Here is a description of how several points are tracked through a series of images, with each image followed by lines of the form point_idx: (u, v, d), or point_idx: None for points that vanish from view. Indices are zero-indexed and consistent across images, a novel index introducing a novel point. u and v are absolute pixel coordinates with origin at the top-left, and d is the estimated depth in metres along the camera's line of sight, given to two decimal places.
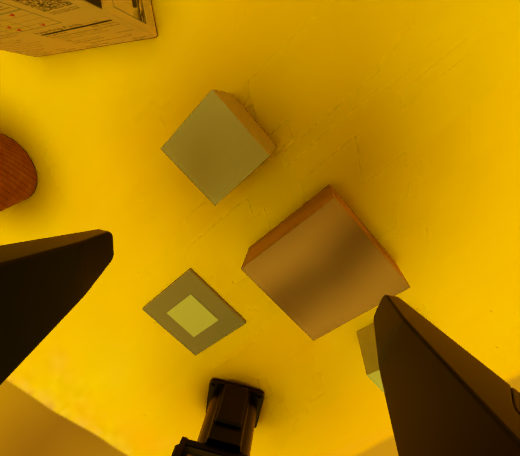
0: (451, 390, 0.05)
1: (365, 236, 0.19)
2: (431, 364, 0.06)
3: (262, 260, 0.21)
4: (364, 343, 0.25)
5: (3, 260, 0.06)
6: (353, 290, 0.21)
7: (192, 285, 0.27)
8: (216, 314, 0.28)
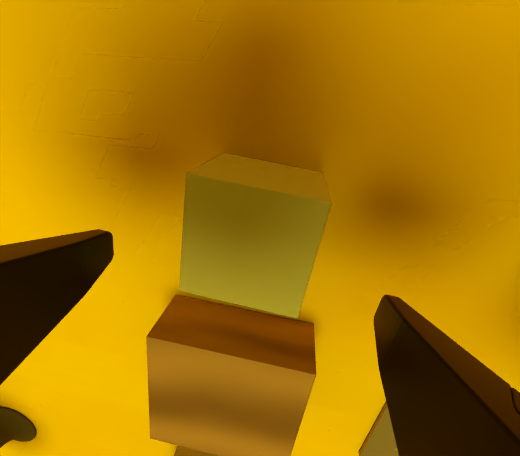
0: (451, 390, 0.05)
1: (150, 402, 0.17)
2: (431, 364, 0.06)
3: None
4: None
5: (3, 260, 0.06)
6: (206, 379, 0.15)
7: (380, 449, 0.20)
8: None
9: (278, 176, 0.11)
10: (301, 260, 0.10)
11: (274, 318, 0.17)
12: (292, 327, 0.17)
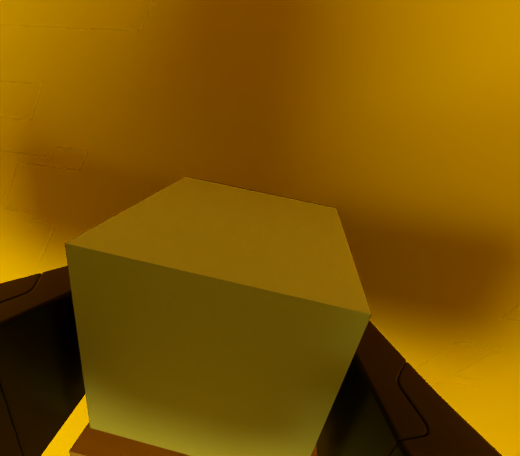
0: None
1: None
2: None
3: None
4: None
5: None
6: None
7: None
8: None
9: (264, 229, 0.06)
10: (305, 404, 0.05)
11: None
12: None
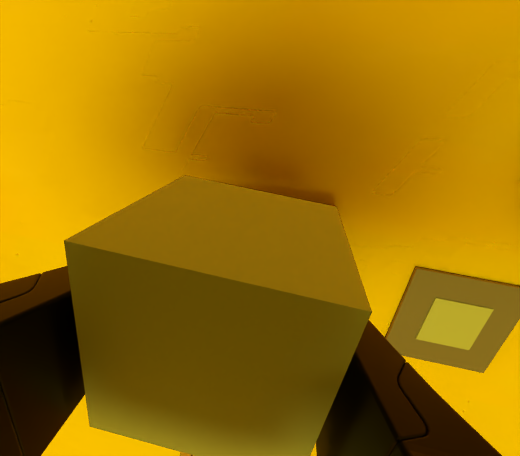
0: None
1: None
2: None
3: None
4: None
5: None
6: None
7: (401, 341, 0.22)
8: (427, 303, 0.20)
9: (264, 227, 0.06)
10: (305, 402, 0.05)
11: None
12: None
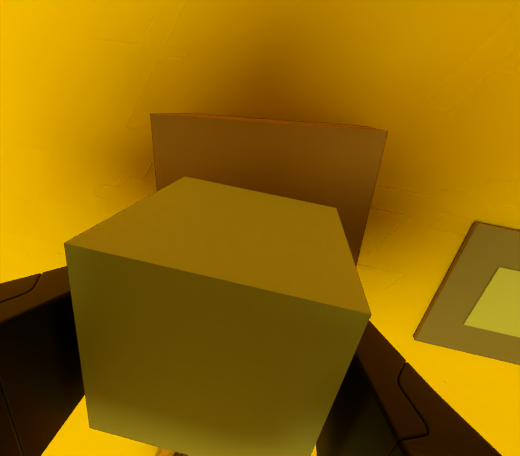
0: None
1: None
2: None
3: None
4: None
5: None
6: (233, 177, 0.11)
7: (443, 327, 0.17)
8: (485, 274, 0.15)
9: (263, 229, 0.06)
10: (305, 404, 0.05)
11: None
12: None
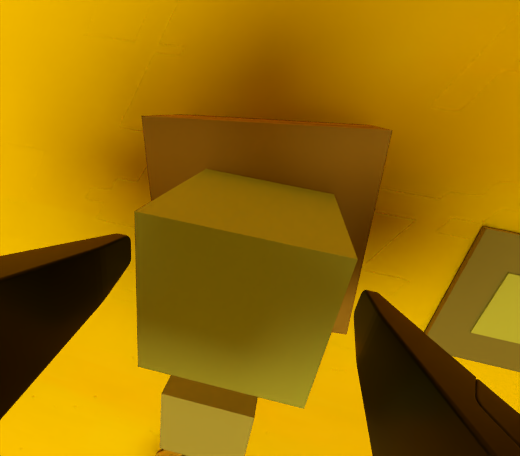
0: (417, 382, 0.05)
1: None
2: (401, 357, 0.06)
3: None
4: None
5: (30, 266, 0.06)
6: None
7: (449, 335, 0.16)
8: (494, 281, 0.14)
9: (276, 207, 0.08)
10: (310, 335, 0.07)
11: (314, 122, 0.13)
12: (341, 124, 0.12)
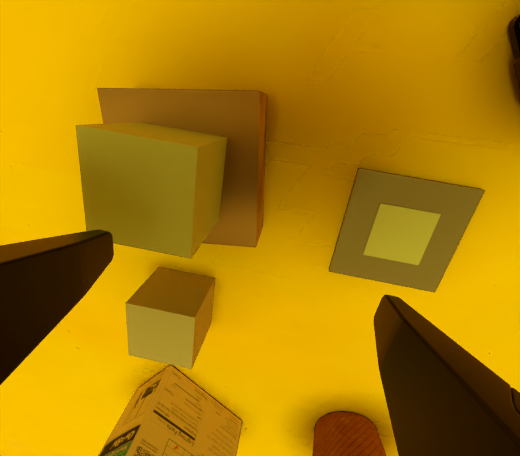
0: (451, 390, 0.05)
1: None
2: (431, 364, 0.06)
3: (227, 237, 0.18)
4: None
5: (3, 260, 0.06)
6: None
7: (348, 258, 0.21)
8: (372, 211, 0.19)
9: (172, 134, 0.13)
10: (183, 201, 0.12)
11: None
12: None
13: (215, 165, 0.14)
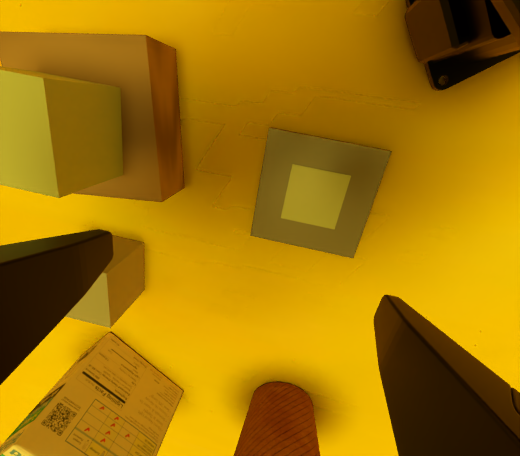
0: (451, 390, 0.05)
1: None
2: (431, 364, 0.06)
3: (133, 191, 0.18)
4: None
5: (3, 260, 0.06)
6: None
7: (267, 222, 0.21)
8: (285, 172, 0.19)
9: (45, 75, 0.13)
10: (41, 137, 0.12)
11: None
12: None
13: (96, 111, 0.14)
